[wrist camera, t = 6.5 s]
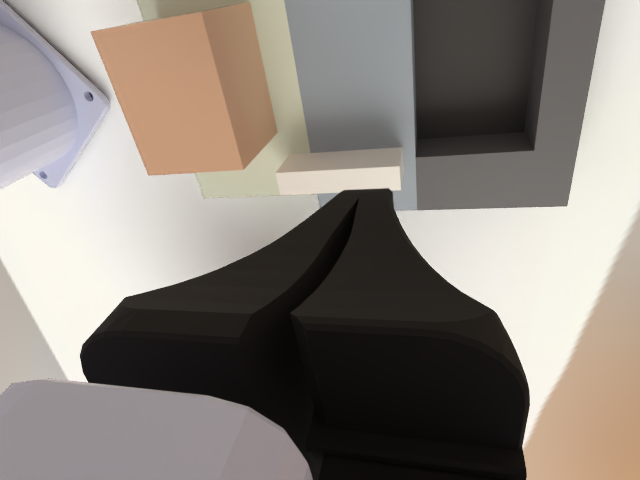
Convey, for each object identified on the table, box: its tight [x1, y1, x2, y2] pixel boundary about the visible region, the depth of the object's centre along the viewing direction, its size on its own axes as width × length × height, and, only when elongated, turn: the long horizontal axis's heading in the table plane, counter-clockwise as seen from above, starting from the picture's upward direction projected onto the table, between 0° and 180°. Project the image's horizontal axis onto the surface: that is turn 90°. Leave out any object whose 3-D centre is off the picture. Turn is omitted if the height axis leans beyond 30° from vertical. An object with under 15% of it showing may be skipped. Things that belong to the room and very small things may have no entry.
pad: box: [137, 0, 310, 198], centre depth 18 cm, size 6×11×2 cm, turn 9°
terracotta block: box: [91, 2, 278, 175], centre depth 16 cm, size 4×5×4 cm
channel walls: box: [275, 147, 404, 195], centre depth 15 cm, size 5×9×2 cm, turn 9°
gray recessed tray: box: [284, 0, 605, 211], centre depth 16 cm, size 10×13×2 cm
